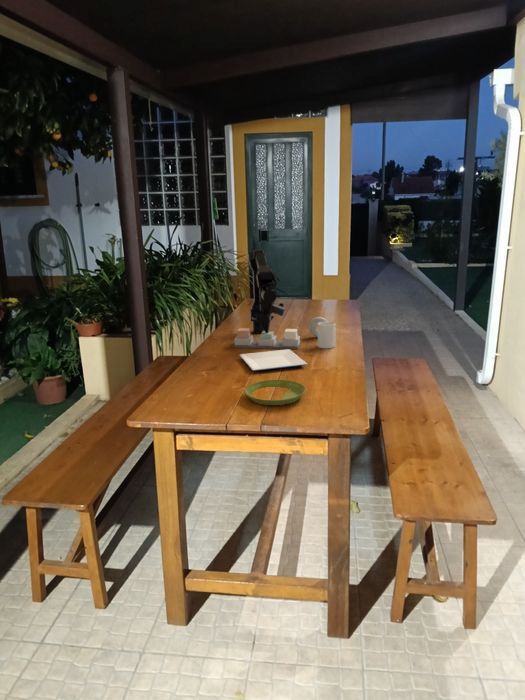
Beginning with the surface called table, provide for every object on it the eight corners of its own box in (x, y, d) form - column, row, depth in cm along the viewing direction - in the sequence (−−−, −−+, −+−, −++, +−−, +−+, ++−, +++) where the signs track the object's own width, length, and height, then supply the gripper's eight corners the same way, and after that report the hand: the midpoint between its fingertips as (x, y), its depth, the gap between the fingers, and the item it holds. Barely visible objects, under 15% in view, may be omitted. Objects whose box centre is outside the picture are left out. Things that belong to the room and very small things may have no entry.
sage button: (263, 339, 253) (262, 331, 252) (273, 339, 252) (273, 331, 251) (260, 342, 249) (260, 334, 248) (271, 342, 248) (271, 334, 247)
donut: (308, 338, 261) (308, 317, 258) (308, 336, 264) (308, 316, 261) (329, 338, 260) (329, 317, 257) (329, 336, 263) (329, 316, 260)
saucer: (317, 395, 189) (317, 386, 188) (279, 414, 174) (278, 405, 173) (272, 383, 202) (272, 375, 201) (232, 400, 187) (232, 391, 187)
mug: (333, 349, 242) (333, 325, 239) (316, 348, 244) (316, 325, 241) (338, 341, 253) (338, 319, 250) (321, 341, 255) (321, 319, 252)
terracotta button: (239, 336, 255) (239, 328, 254) (250, 336, 254) (249, 328, 253) (237, 339, 251) (236, 330, 249) (247, 339, 250) (247, 330, 248)
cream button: (286, 337, 251) (286, 328, 250) (297, 337, 250) (297, 329, 249) (284, 340, 246) (284, 331, 245) (295, 340, 245) (295, 331, 244)
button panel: (239, 341, 259) (238, 333, 258) (300, 343, 253) (300, 335, 252) (234, 347, 249) (233, 339, 248) (297, 349, 244) (297, 340, 243)
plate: (252, 374, 212) (252, 369, 212) (239, 358, 233) (239, 354, 232) (307, 368, 218) (307, 363, 217) (289, 353, 239) (289, 348, 238)
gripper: (280, 303, 235) (281, 338, 239) (287, 295, 252) (287, 328, 257) (254, 303, 237) (256, 337, 241) (263, 295, 255) (264, 327, 259)
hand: (267, 332), depth 250 cm, fingers closed, pressing on sage button
